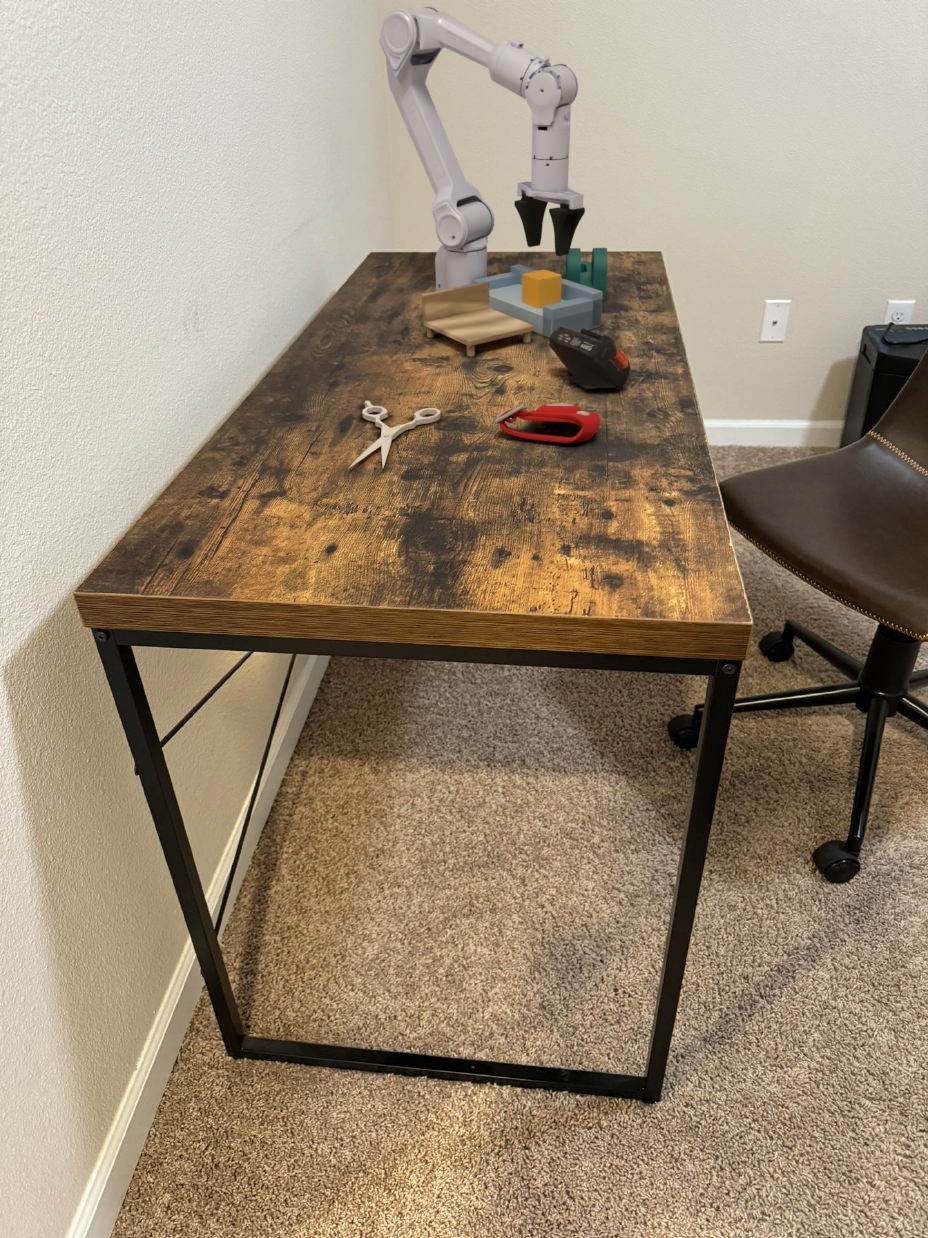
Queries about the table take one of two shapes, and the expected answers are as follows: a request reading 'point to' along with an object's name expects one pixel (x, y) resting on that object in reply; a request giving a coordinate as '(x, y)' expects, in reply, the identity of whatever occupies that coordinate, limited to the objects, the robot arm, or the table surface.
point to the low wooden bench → (469, 316)
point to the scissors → (392, 433)
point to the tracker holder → (552, 414)
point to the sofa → (572, 312)
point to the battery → (590, 358)
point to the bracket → (587, 269)
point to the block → (541, 288)
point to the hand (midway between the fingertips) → (547, 250)
